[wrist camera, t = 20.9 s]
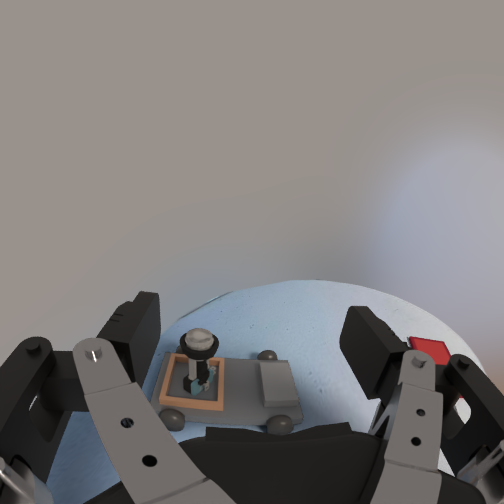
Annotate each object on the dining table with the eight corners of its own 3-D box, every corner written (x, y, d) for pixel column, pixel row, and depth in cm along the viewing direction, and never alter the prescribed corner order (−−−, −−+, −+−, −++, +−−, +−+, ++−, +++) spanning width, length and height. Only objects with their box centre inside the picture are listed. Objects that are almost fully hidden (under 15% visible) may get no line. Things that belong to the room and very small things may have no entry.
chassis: (283, 364, 49) (287, 348, 48) (301, 435, 32) (308, 419, 31) (168, 357, 47) (166, 340, 46) (148, 427, 30) (144, 411, 29)
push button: (202, 367, 42) (203, 317, 39) (228, 381, 40) (232, 330, 37) (175, 386, 37) (171, 335, 34) (202, 403, 34) (201, 352, 31)
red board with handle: (413, 423, 32) (474, 423, 28) (421, 412, 32) (482, 413, 28) (395, 338, 60) (441, 346, 56) (399, 329, 59) (445, 337, 55)
